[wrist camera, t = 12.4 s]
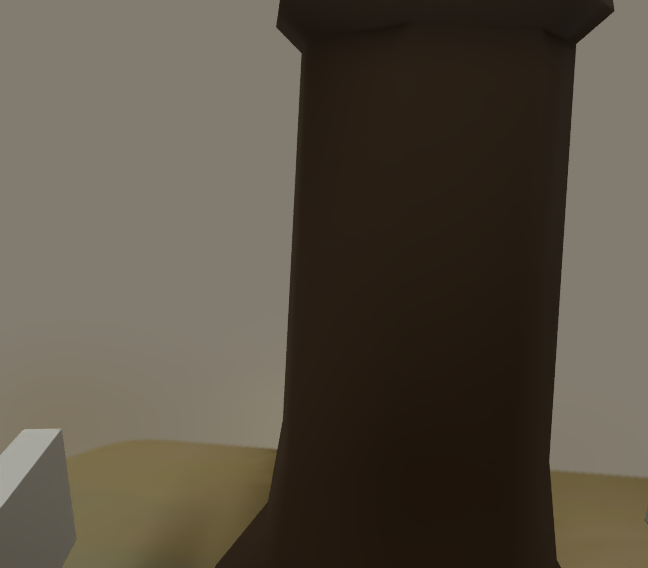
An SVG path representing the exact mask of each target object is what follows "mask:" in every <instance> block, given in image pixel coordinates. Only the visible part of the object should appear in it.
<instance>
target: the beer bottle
mask: <svg viewBox="0 0 648 568" xmlns="http://www.w3.org/2000/svg"><path fill="white" fill-rule="evenodd" d="M612 12H614V5H613V0H280V4H279V11H278V19H277V25H276V27H277V28H278V29H279V30H280V31H281V32H282V33H283V35H284V36H285V37H286V38H287V39H288V40H289V41H290V42H291V43H292V44H293V45H294V46H295V47H296V48H297V49H298V50H299V51H300V52H301V53H302V58H301V59H302V60H301V79H300V98H299V117H298V137H297V156H296V157H297V158H296V177H295V196H294V215H293V234H292V255H291V275H290V293H289V294H290V295H289V314H288V332H287V352H286V372H285V392H284V411H283V422H282V428H281V433H280V439H279V445H278V450H277V455H276V461H275V467H274V472H273V478H272V483H271V489H270V495H269V500H268V503H267V504H266V505H265V506H264V507H263V509H262V510H261V511H260V512H259V514H258V515H257V516H256V517H255V518H254V520H253V521H252V522H251V523H250V525H249V526H248V527H247V528H246V529H245V531H244V532H243V533H242V534H241V536H240V537H239V538H238V539H237V540H236V542H235V543H234V544H233V545H232V547H231V548H230V549H229V550H228V551H227V553H226V554H225V555H224V556H223V558H222V559H221V560H220V561H219V562H218V564H217V565H216V566H215V568H561V567H560V565H559V563H558V562H557V558H556V545H555V531H554V518H553V505H552V492H551V479H550V466H549V455H550V439H551V424H552V408H553V393H554V378H555V362H556V347H557V331H558V316H559V300H560V284H561V269H562V253H563V239H564V223H565V208H566V190H567V176H568V161H569V146H570V130H571V115H572V100H573V99H572V98H573V83H574V67H575V53H576V44H577V43H578V42H579V41H580V40H581V39H583V38H584V37H585V36H586V35H587V34H588V33H589V32H591V31H592V30H593V29H594V28H595V27H596V26H598V25H599V24H600V23H601V22H602V21H603V20H605V19H606V18H607V17H608V16H609V15H610V14H612Z"/></svg>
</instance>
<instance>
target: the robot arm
mask: <svg viewBox="0 0 648 568" xmlns="http://www.w3.org/2000/svg"><path fill="white" fill-rule="evenodd" d="M645 522H646V523H647V524H648V508H647V512H646V517H645ZM75 541H76V532H75V524H74V517H73V509H72V502H71V495H70V487H69V480H68V472H67V465H66V457H65V451H64V443H63V435H62V429H25V430H23V431H22V432H21V433H20V434H19V435H18V436H17V437H16V438H15V440H14V441H13V442H12V443H11V444H10V445H9V446H8V447H7V449H6V450H5V451H4V452H3V453H2V454H1V455H0V568H62V566H63V564H64V562H65V560H66V558H67V556H68V554H69V553H70V551H71V549H72V547H73V545H74V543H75Z"/></svg>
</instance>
